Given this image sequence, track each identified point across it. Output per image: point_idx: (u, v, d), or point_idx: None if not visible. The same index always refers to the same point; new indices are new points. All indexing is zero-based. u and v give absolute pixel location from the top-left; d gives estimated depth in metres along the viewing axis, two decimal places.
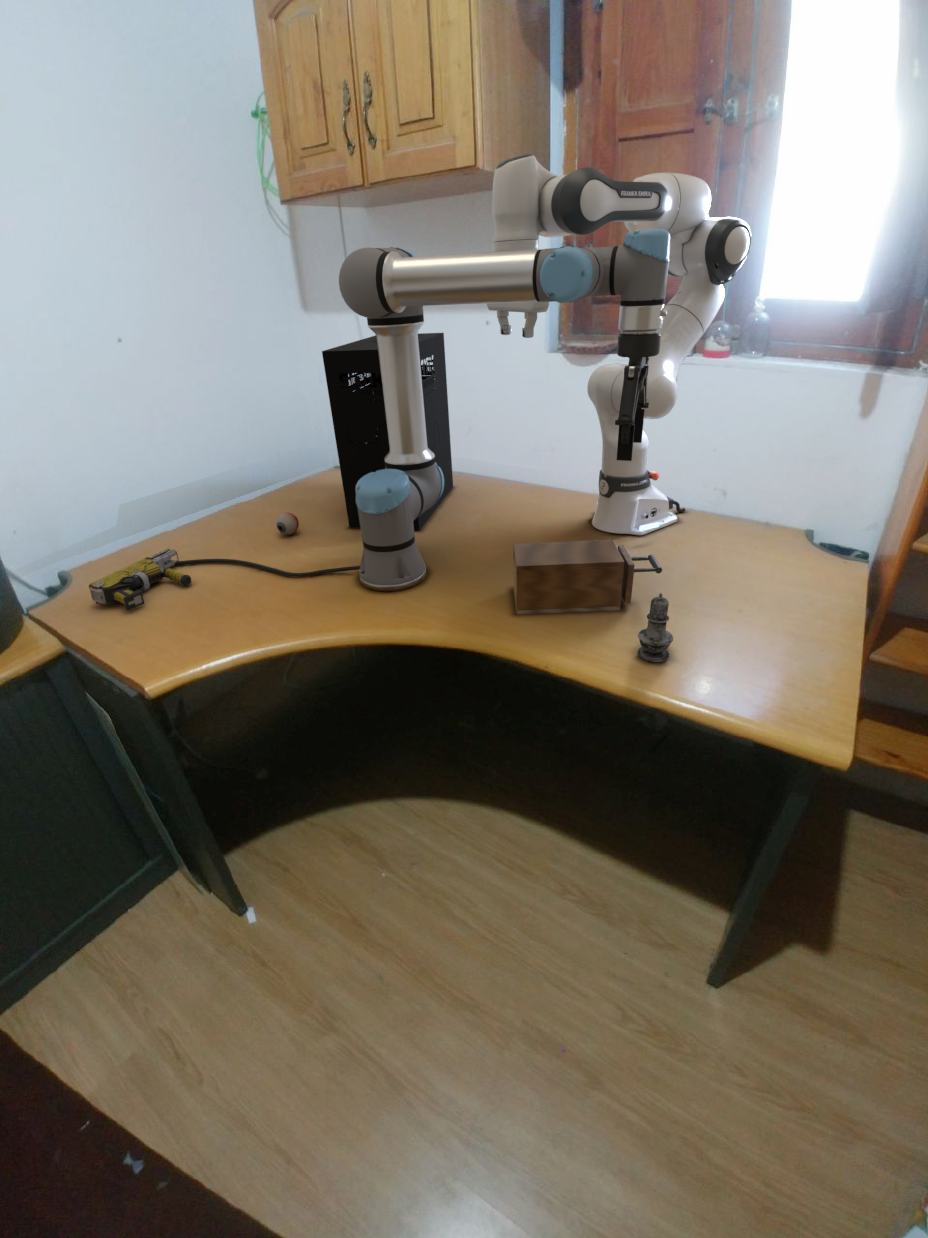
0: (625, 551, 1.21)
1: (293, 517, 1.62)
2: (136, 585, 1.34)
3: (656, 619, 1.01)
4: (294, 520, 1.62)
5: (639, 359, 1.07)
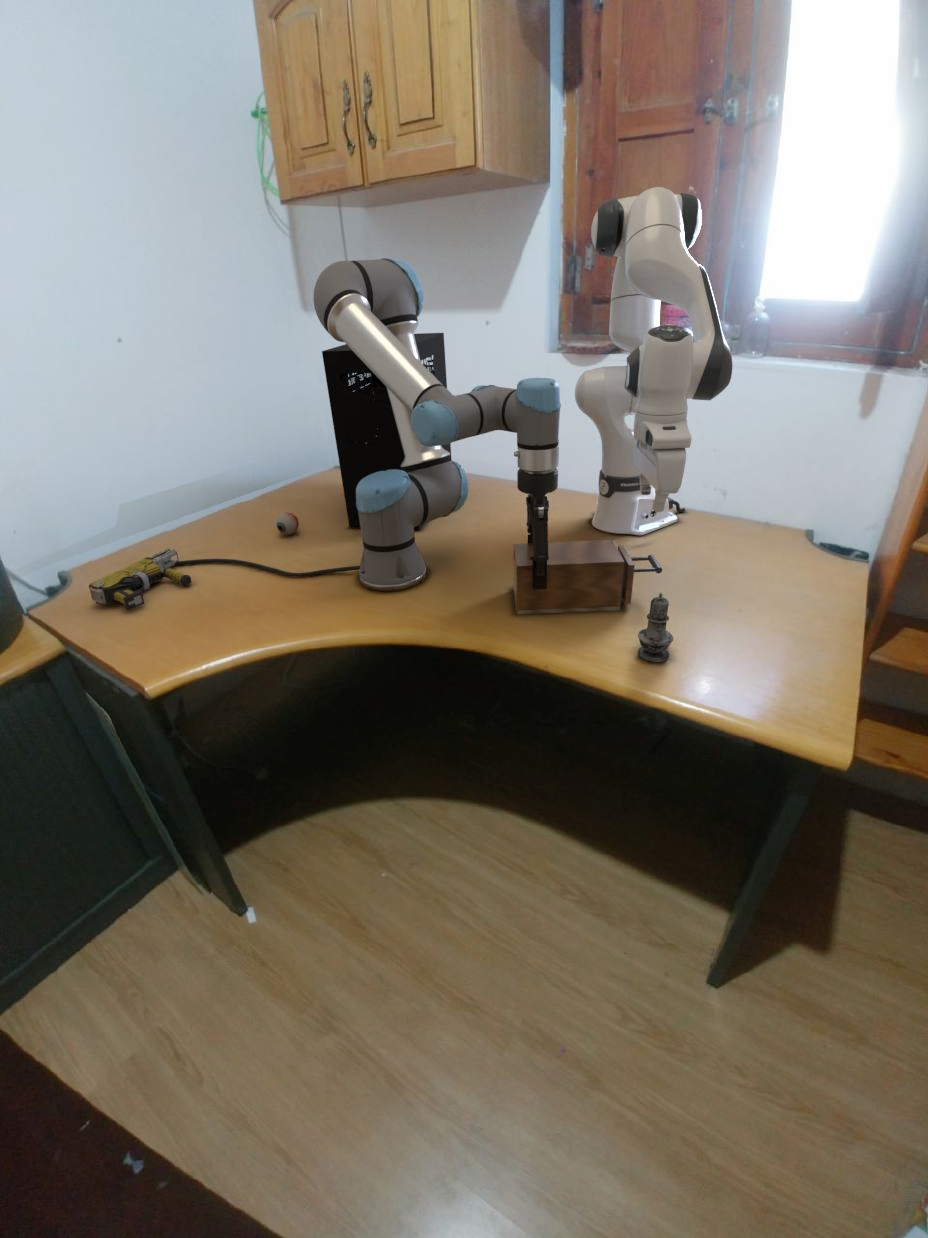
0: (625, 551, 1.21)
1: (293, 517, 1.62)
2: (136, 585, 1.34)
3: (656, 619, 1.01)
4: (294, 520, 1.62)
5: None
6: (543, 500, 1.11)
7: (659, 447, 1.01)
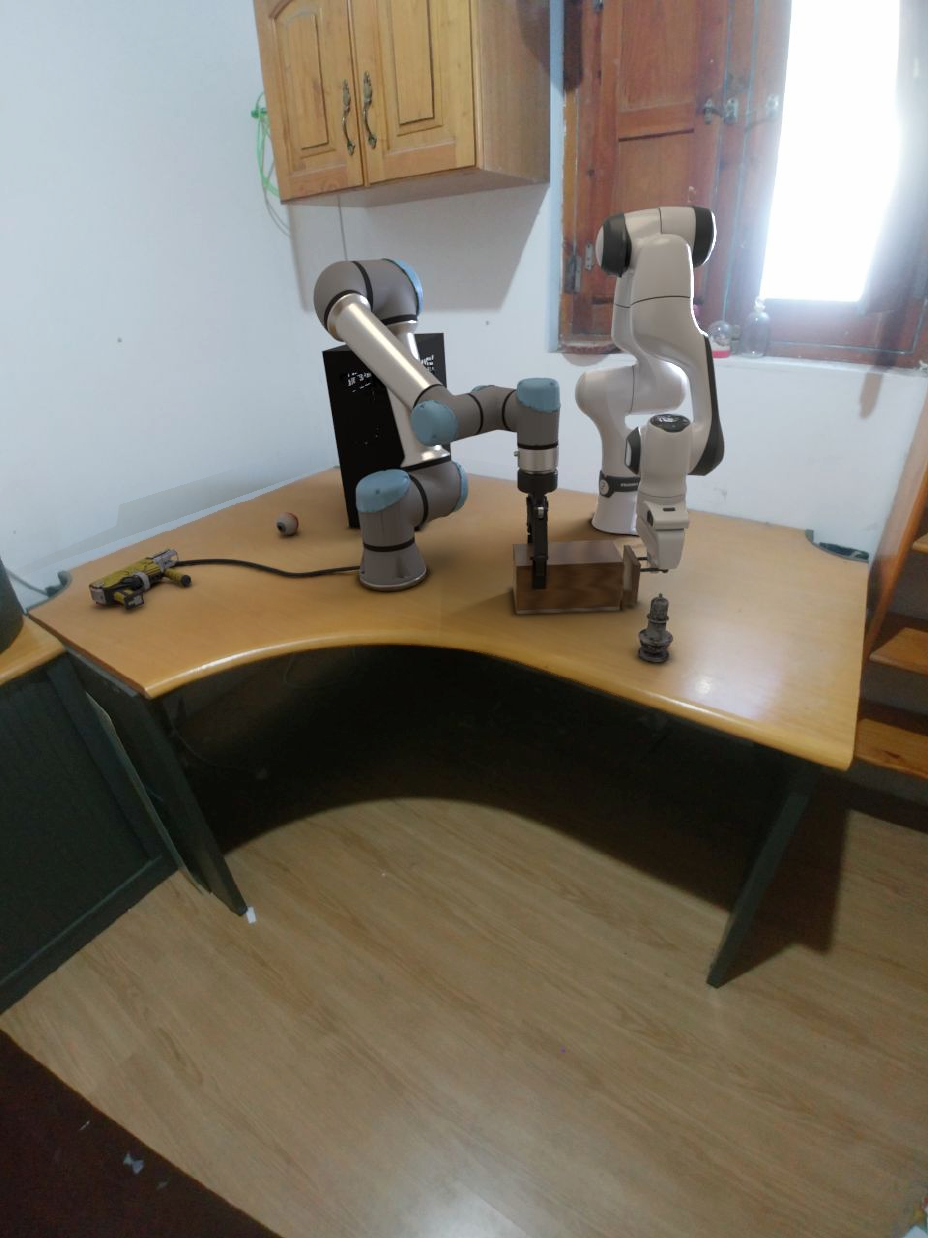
0: (631, 551, 1.21)
1: (293, 517, 1.62)
2: (136, 585, 1.34)
3: (656, 619, 1.01)
4: (294, 520, 1.62)
5: None
6: (543, 500, 1.11)
7: (659, 528, 1.08)
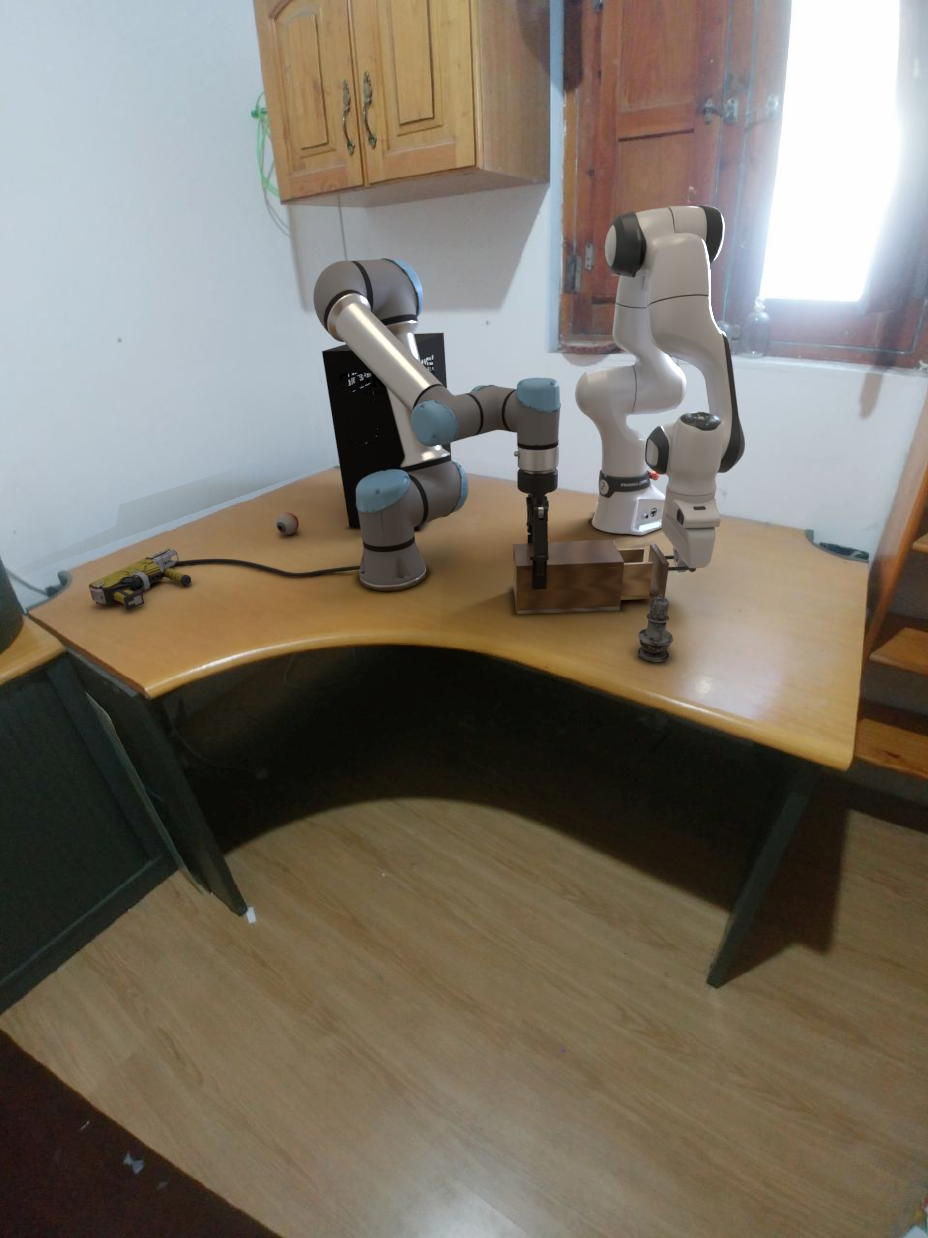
0: (658, 550, 1.21)
1: (293, 517, 1.62)
2: (136, 585, 1.34)
3: (656, 619, 1.01)
4: (294, 520, 1.62)
5: None
6: (543, 500, 1.11)
7: (690, 527, 1.08)
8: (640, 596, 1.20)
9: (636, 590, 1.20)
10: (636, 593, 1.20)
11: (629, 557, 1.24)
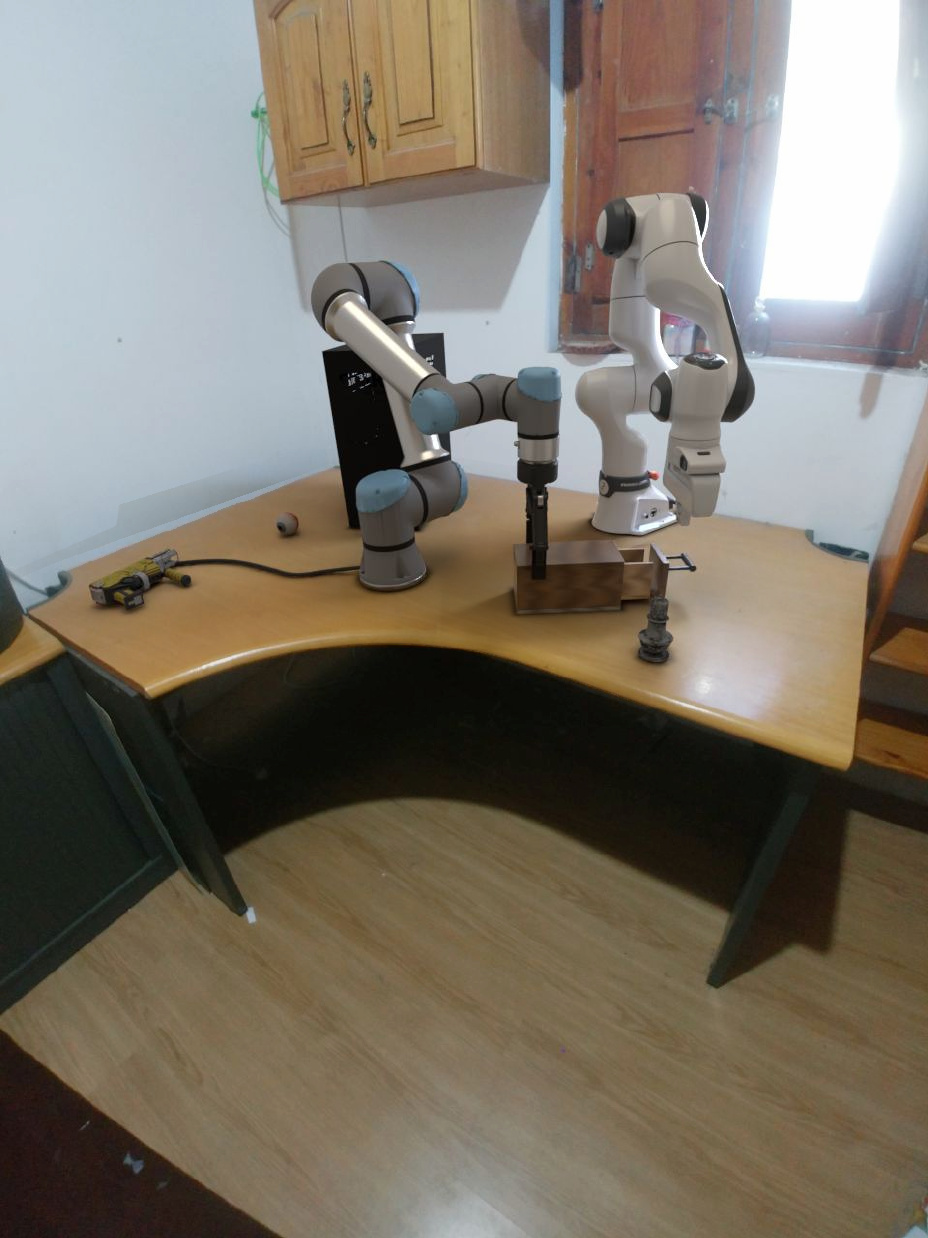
0: (658, 549, 1.21)
1: (293, 517, 1.62)
2: (136, 585, 1.34)
3: (656, 619, 1.01)
4: (294, 520, 1.62)
5: None
6: (543, 491, 1.10)
7: (694, 472, 1.03)
8: (640, 596, 1.20)
9: (636, 590, 1.20)
10: (636, 593, 1.20)
11: (630, 557, 1.24)
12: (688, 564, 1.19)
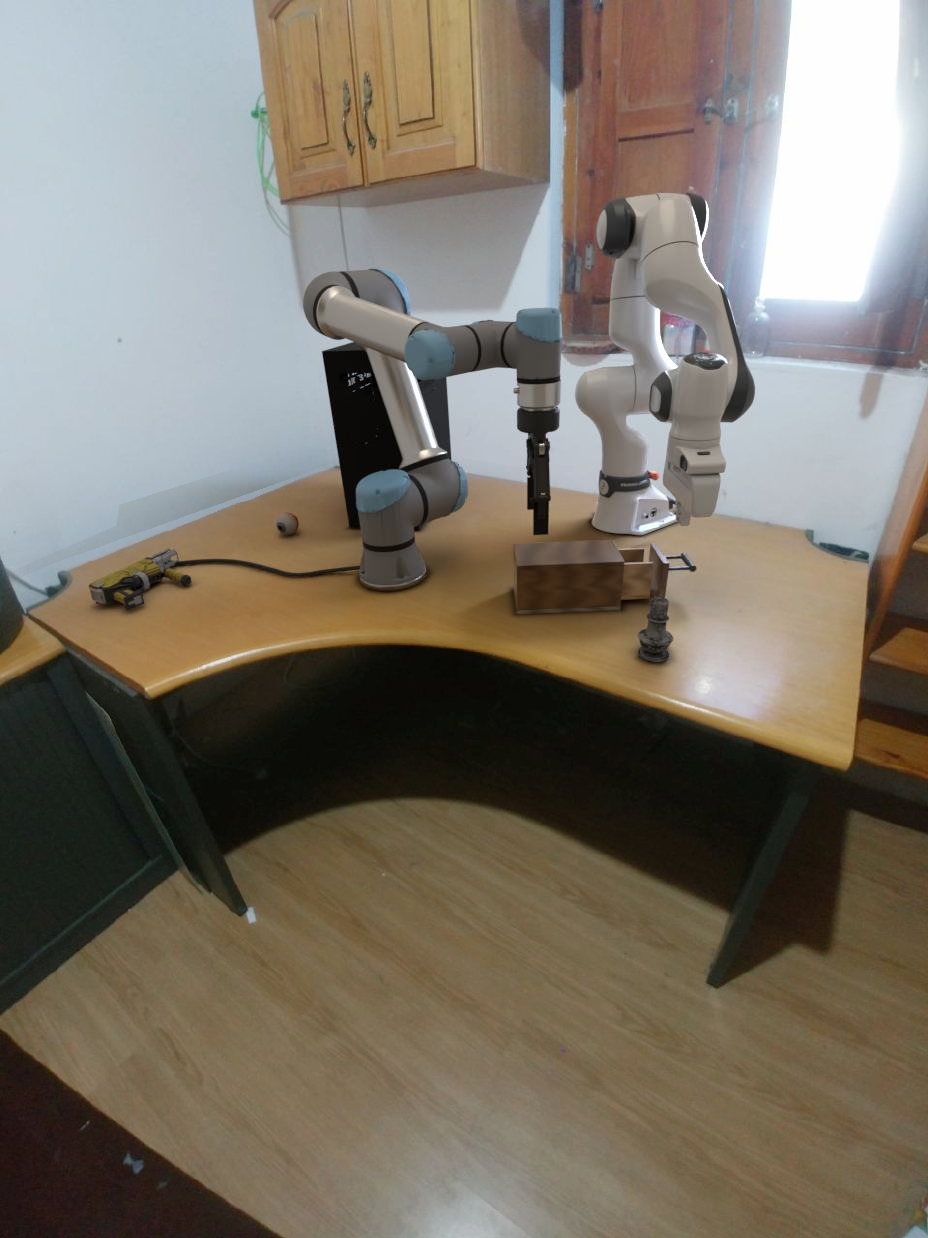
0: (658, 549, 1.21)
1: (293, 517, 1.62)
2: (136, 585, 1.34)
3: (656, 619, 1.01)
4: (294, 520, 1.62)
5: None
6: (544, 439, 1.05)
7: (694, 472, 1.03)
8: (640, 596, 1.20)
9: (636, 590, 1.20)
10: (636, 593, 1.20)
11: (630, 557, 1.24)
12: (688, 564, 1.19)
